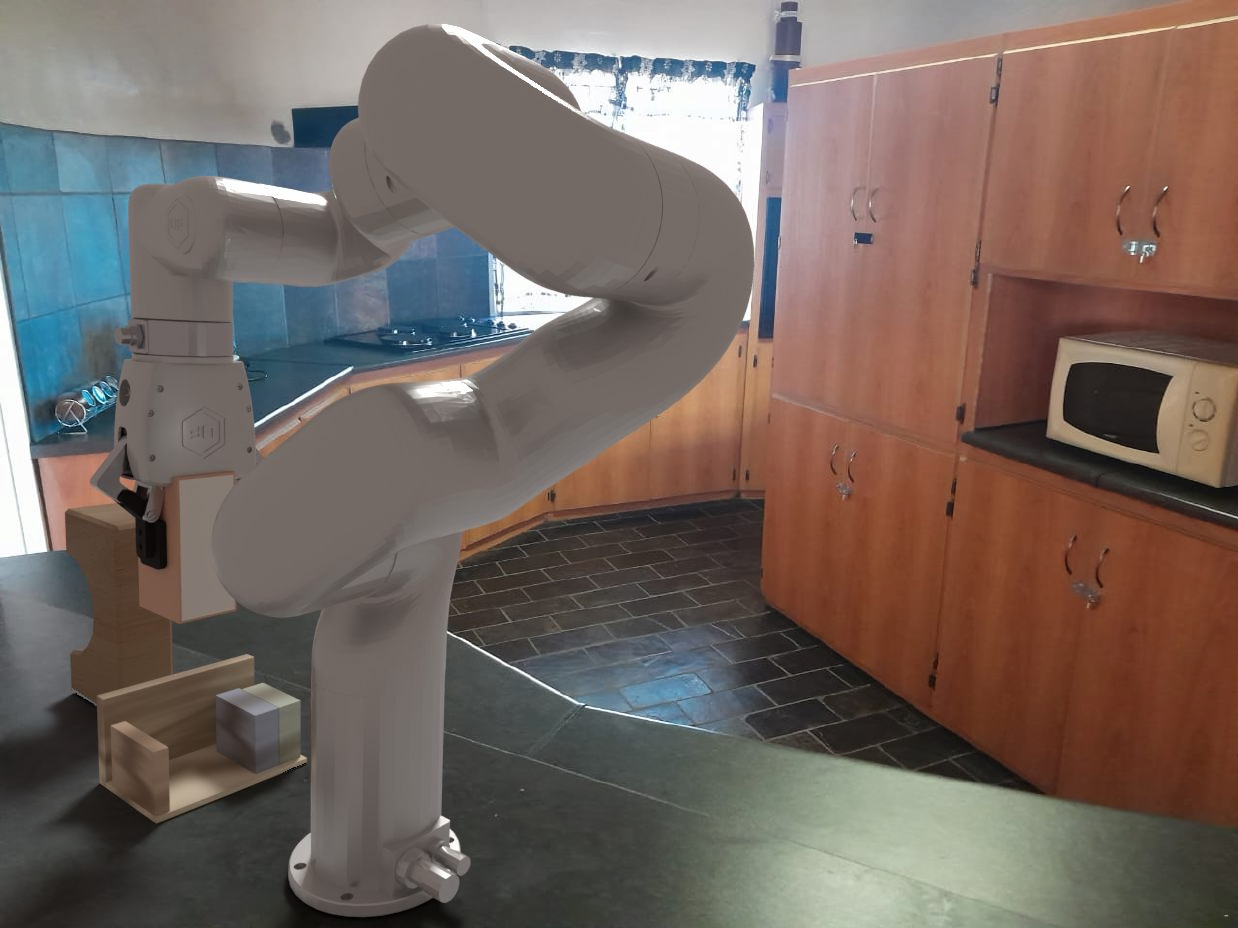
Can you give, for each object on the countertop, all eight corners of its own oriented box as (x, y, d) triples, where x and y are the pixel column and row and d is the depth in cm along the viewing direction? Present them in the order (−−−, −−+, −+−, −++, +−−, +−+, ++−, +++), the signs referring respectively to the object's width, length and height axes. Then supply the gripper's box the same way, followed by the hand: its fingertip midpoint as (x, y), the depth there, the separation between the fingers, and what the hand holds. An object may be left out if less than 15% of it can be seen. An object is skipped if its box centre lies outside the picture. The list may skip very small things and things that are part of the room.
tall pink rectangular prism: (236, 610, 79) (235, 472, 77) (179, 624, 75) (176, 478, 73) (196, 594, 82) (193, 461, 81) (139, 606, 78) (135, 466, 77)
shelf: (307, 762, 85) (307, 680, 84) (156, 823, 74) (154, 729, 73) (247, 731, 91) (247, 653, 90) (99, 783, 80) (96, 695, 79)
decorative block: (69, 693, 97) (62, 508, 94) (125, 678, 102) (120, 501, 99) (118, 725, 91) (112, 527, 88) (175, 708, 95) (171, 519, 92)
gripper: (95, 344, 66) (103, 589, 69) (302, 347, 80) (301, 551, 82) (49, 339, 70) (58, 569, 73) (253, 342, 84) (254, 536, 87)
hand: (187, 557), depth 78 cm, fingers closed on tall pink rectangular prism, 5 cm apart
